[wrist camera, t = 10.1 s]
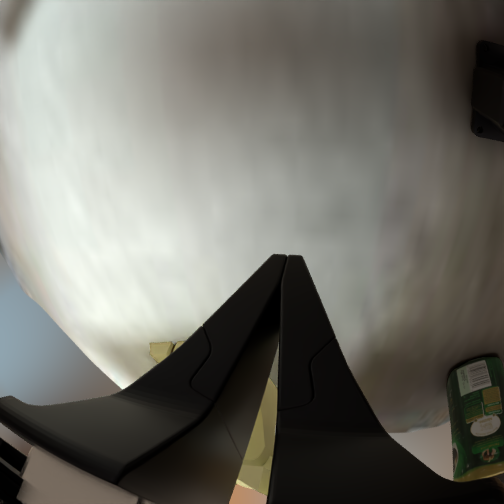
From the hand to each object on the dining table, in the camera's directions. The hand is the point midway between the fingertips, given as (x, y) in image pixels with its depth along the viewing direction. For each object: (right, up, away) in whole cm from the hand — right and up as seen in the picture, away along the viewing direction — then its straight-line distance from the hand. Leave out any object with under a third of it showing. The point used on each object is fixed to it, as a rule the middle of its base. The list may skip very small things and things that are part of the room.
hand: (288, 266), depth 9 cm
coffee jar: (+27, -15, +22) cm, 38 cm away
